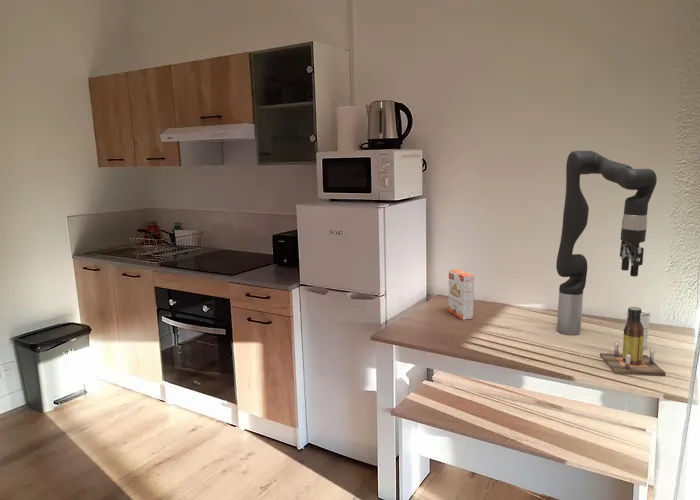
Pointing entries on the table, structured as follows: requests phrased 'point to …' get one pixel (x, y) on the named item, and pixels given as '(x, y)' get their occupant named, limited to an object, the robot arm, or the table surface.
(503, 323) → the table surface
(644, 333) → the syrup box
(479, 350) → the table surface
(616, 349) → the metal pins
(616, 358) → the board
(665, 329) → the table surface
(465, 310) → the cracker box
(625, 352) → the sauce bottle
